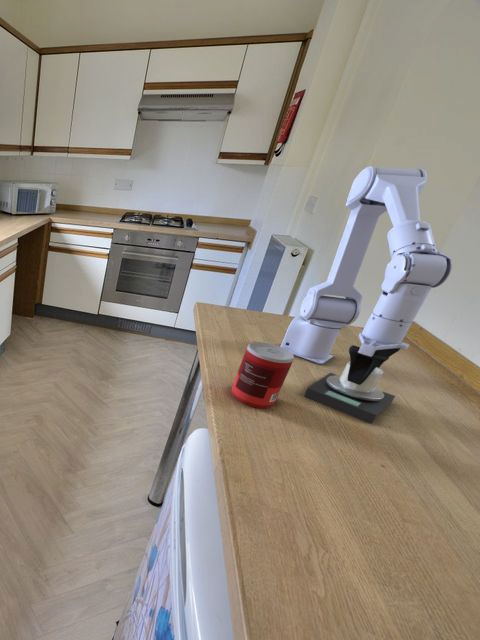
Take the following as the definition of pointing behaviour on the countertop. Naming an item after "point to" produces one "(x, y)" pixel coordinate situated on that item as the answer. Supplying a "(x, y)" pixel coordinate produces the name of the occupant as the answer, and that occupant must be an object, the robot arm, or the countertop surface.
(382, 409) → the scale
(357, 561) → the countertop surface
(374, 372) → the cup
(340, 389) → the scale pan
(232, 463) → the countertop surface
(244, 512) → the countertop surface
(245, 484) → the countertop surface
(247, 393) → the canned food
